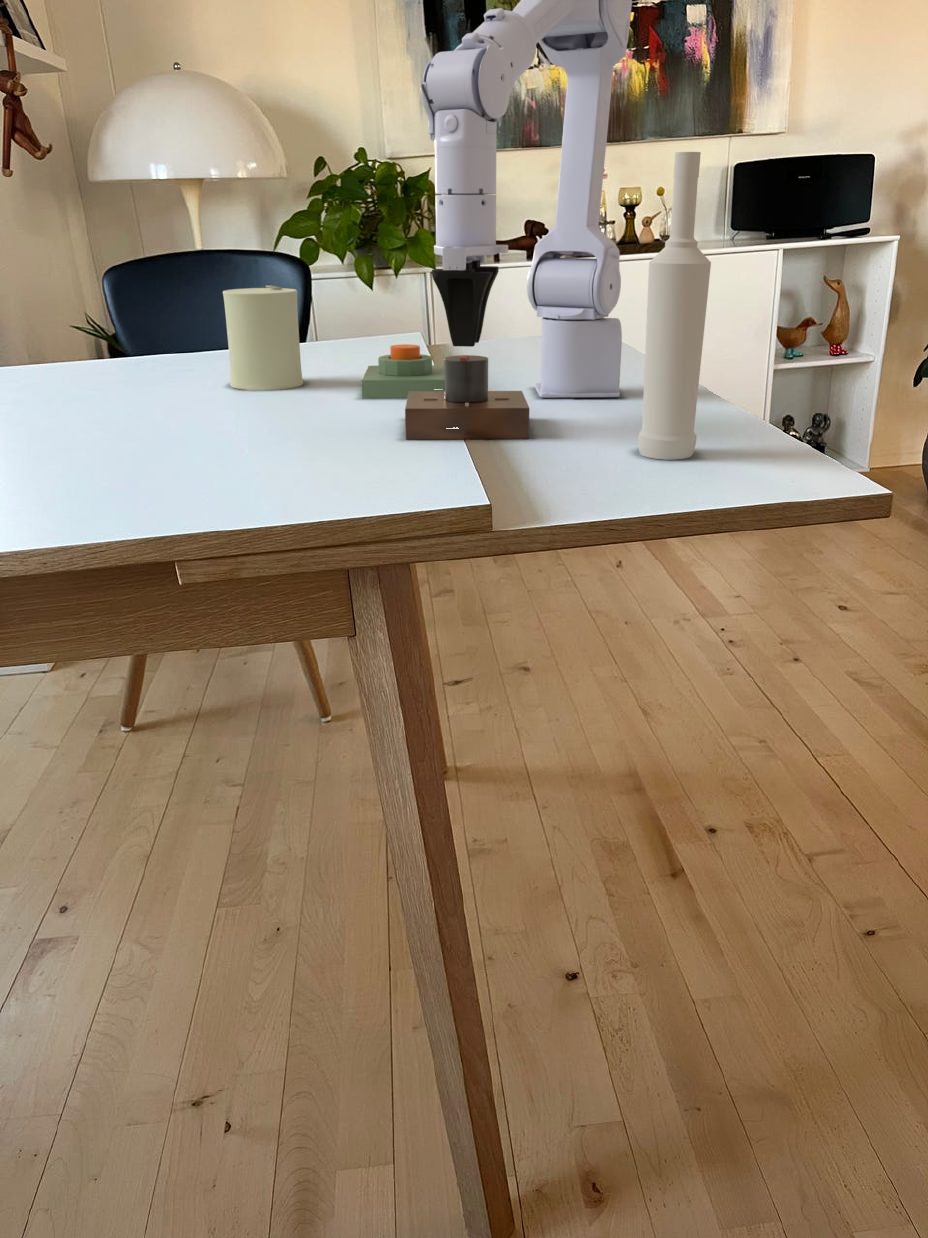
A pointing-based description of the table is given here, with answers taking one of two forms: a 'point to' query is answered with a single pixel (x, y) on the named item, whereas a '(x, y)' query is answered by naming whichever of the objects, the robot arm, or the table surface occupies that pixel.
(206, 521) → the table surface
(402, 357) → the button
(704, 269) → the bottle
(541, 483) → the table surface
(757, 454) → the table surface
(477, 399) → the dial
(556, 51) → the robot arm
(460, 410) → the dial panel
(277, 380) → the can
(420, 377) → the green button base
